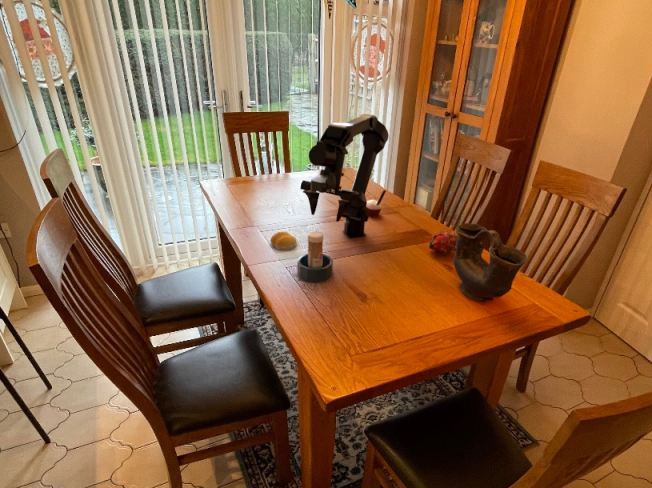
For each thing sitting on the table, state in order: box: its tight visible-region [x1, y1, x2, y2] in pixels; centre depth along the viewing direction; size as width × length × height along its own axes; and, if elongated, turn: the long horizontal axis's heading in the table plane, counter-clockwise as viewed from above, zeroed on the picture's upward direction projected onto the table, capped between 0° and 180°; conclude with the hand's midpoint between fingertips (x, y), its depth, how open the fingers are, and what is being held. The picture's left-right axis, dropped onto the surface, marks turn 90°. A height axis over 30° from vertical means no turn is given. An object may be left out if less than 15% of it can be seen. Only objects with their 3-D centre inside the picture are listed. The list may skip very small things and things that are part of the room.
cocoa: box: [366, 189, 387, 218], centre depth 170 cm, size 10×6×12 cm, turn 19°
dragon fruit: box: [428, 230, 457, 256], centre depth 145 cm, size 8×8×12 cm
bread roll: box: [270, 230, 298, 250], centre depth 145 cm, size 8×9×4 cm
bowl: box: [296, 253, 334, 284], centre depth 129 cm, size 10×10×4 cm
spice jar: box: [307, 230, 324, 269], centre depth 126 cm, size 5×5×13 cm
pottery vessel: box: [452, 222, 528, 304], centre depth 120 cm, size 25×11×20 cm, turn 23°
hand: (324, 218), depth 134 cm, fingers open, 9 cm apart
